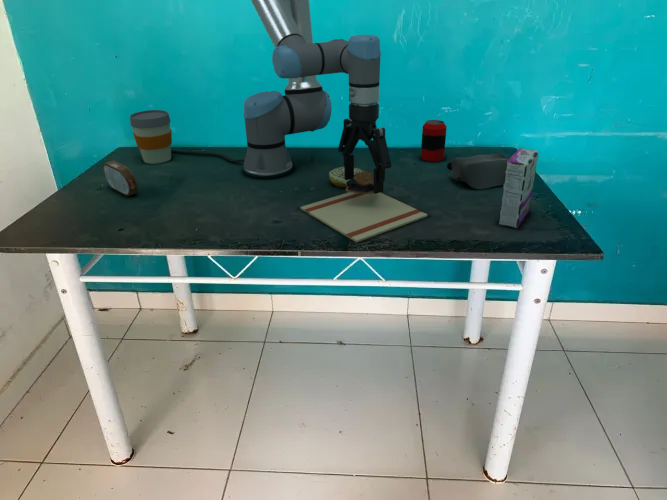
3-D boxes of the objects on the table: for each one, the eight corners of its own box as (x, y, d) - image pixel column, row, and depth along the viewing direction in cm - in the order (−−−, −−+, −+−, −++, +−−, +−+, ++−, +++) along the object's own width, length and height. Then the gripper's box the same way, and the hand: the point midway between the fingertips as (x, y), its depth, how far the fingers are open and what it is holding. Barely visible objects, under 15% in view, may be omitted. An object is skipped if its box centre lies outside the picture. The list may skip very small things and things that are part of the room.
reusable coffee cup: (148, 152, 182) (139, 109, 175) (182, 153, 180) (175, 110, 173) (131, 164, 171) (121, 119, 164) (167, 166, 170) (159, 120, 162)
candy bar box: (509, 208, 136) (519, 147, 128) (529, 212, 134) (540, 150, 126) (496, 224, 128) (506, 160, 120) (517, 229, 126) (528, 164, 118)
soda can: (445, 162, 168) (449, 125, 162) (422, 162, 168) (424, 125, 163) (441, 154, 175) (444, 118, 169) (419, 154, 175) (421, 119, 169)
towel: (300, 208, 138) (300, 206, 138) (367, 188, 150) (367, 186, 150) (356, 242, 121) (356, 240, 121) (427, 216, 133) (427, 214, 132)
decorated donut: (352, 192, 147) (352, 180, 146) (322, 184, 153) (321, 172, 151) (372, 180, 155) (372, 168, 153) (342, 174, 160) (342, 162, 158)
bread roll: (353, 178, 145) (353, 165, 143) (383, 180, 143) (383, 167, 141) (342, 192, 136) (342, 178, 134) (374, 194, 134) (374, 181, 132)
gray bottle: (500, 171, 160) (503, 146, 156) (520, 184, 150) (524, 158, 147) (444, 177, 156) (446, 152, 152) (461, 191, 147) (464, 165, 143)
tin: (141, 196, 147) (135, 168, 143) (130, 200, 145) (124, 171, 141) (115, 183, 157) (109, 156, 152) (105, 186, 155) (98, 159, 150)
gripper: (323, 97, 136) (325, 176, 146) (384, 114, 118) (381, 202, 129) (346, 92, 139) (347, 170, 150) (408, 109, 122) (404, 195, 133)
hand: (363, 185), depth 139 cm, fingers closed on bread roll, 12 cm apart
